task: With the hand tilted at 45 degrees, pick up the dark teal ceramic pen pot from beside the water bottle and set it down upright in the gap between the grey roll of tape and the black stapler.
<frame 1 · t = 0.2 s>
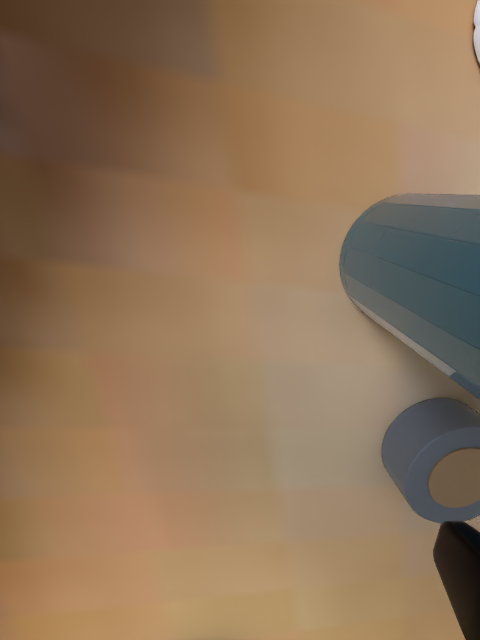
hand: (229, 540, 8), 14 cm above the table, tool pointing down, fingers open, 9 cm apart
tape roll: (430, 443, 26), on the table
pen pot: (399, 259, 22), on the table
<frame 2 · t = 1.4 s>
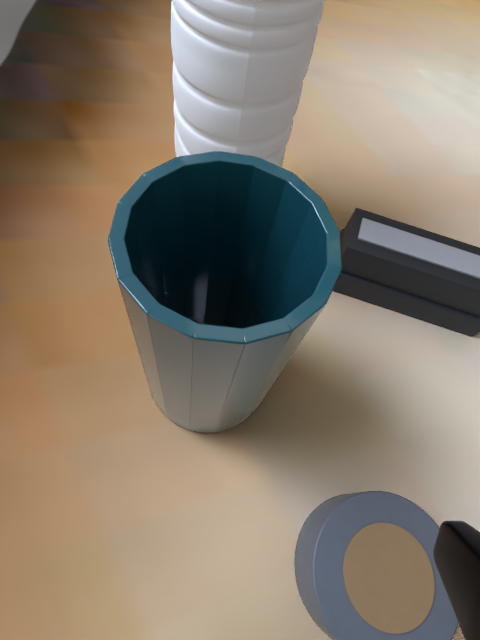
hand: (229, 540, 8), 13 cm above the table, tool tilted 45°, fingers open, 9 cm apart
tape roll: (359, 566, 20), on the table
water bottle: (208, 205, 29), on the table
pen pot: (208, 374, 23), on the table
stapler: (400, 288, 28), on the table
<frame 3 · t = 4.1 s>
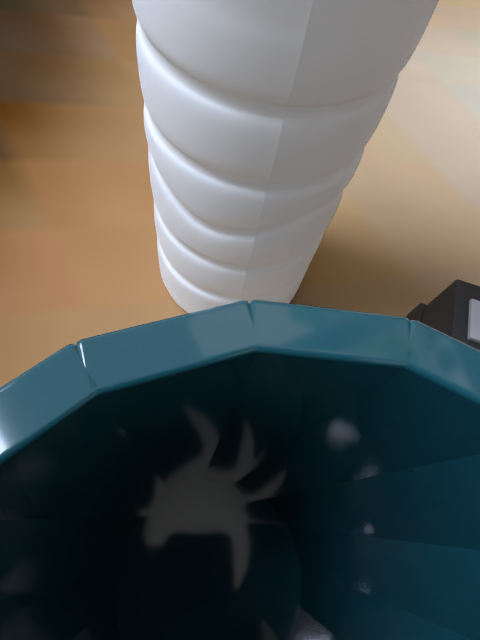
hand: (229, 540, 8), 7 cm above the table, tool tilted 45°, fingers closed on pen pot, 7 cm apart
water bottle: (208, 260, 19), on the table
pen pot: (209, 576, 13), on the table, touching gripper
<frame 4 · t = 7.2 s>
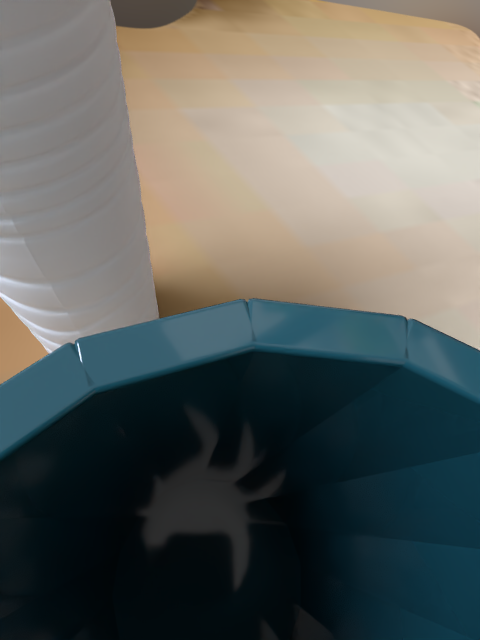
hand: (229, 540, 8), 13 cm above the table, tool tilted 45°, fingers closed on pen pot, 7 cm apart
water bottle: (87, 323, 24), on the table
pen pot: (208, 576, 13), point 7 cm above the table, touching gripper
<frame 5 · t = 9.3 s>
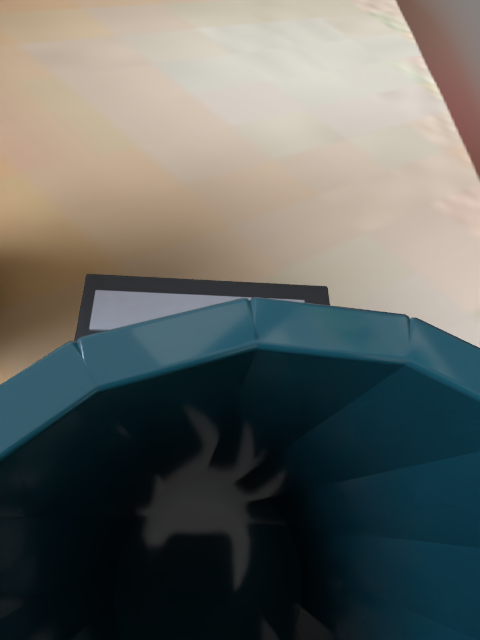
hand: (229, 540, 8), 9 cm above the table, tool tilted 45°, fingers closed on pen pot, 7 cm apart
pen pot: (209, 575, 13), point 2 cm above the table, touching gripper
stapler: (211, 354, 19), on the table
when the fingers open (7 cm above the table, at t = 10.6 s): pen pot stays where it is, on the table.
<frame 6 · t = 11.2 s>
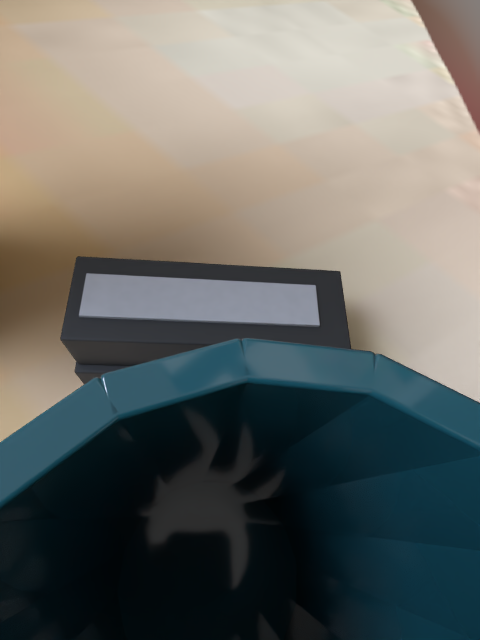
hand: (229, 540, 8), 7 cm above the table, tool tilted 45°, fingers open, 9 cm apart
pen pot: (208, 573, 14), on the table
stapler: (213, 347, 18), on the table
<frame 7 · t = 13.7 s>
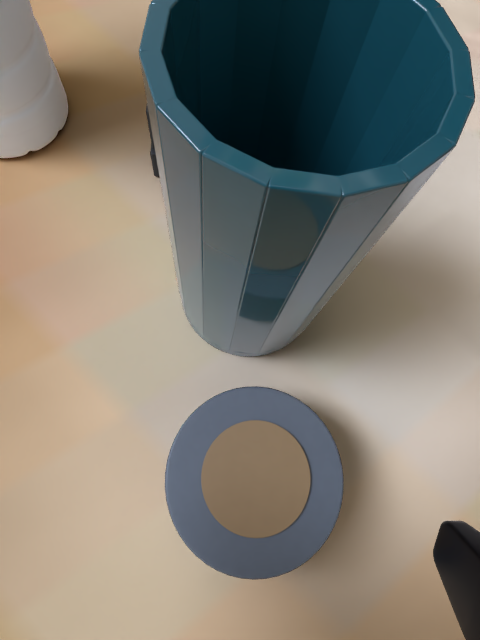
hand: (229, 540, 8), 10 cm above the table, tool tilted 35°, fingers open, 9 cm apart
tape roll: (247, 471, 18), on the table
pen pot: (247, 292, 20), on the table
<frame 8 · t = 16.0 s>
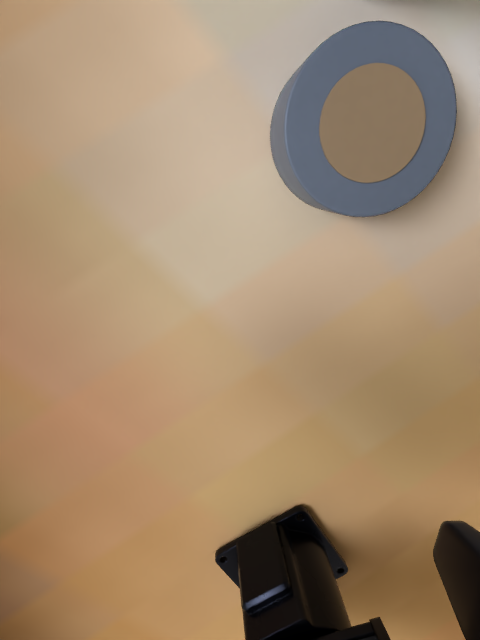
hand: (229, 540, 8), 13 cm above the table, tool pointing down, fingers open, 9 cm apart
tape roll: (343, 134, 18), on the table
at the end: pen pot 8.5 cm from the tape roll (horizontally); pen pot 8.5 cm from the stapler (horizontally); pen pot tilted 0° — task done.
